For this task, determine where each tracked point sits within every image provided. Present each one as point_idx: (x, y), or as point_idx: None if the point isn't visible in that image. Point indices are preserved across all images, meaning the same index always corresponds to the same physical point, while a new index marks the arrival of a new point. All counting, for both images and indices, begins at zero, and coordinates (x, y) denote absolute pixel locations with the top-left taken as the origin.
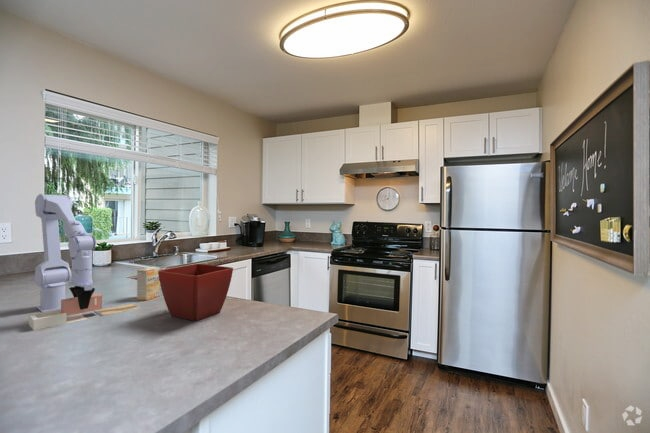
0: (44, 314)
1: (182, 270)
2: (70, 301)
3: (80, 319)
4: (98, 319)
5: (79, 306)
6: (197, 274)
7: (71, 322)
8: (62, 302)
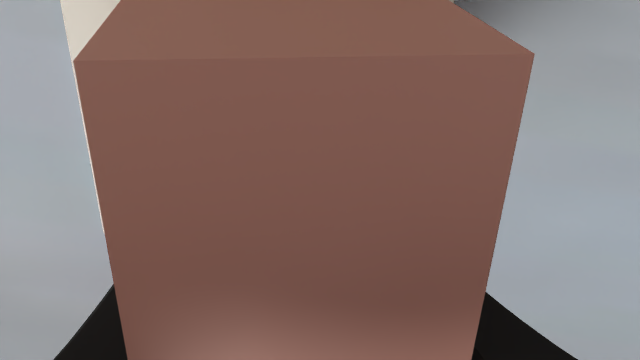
0: None
1: None
2: (104, 222)
3: None
4: (10, 311)
5: None
6: None
7: (68, 34)
8: (302, 38)
